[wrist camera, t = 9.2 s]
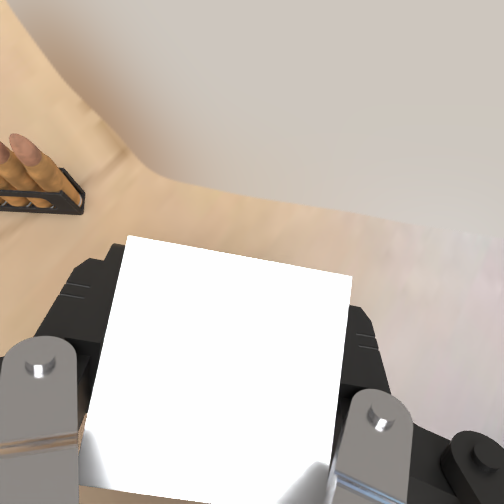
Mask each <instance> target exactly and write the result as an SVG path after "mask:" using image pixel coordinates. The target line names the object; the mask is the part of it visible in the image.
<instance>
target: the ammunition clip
mask: <svg viewBox="0 0 504 504" xmlns="http://www.w3.org/2000/svg"><path fill="white" fill-rule="evenodd" d="M9 140H10V145H11V147H12V150H13V152H12V151H11V150H10V149H9V148H7V147H6V146H5V145H4V144H3V143H1V142H0V211H10V212H30V213H51V214H71V215H82V214H83V210H84V199H85V192H84V191H83V189H82V188H81V187H80V186H79V185H78V184H77V183H76V182H75V181H74V179H73V178H72V177H71V176H70V175H69V173H68V172H67V171H66V170H65V169H64V168H58V167H57V166H56V164H55V163H54V162H53V161H52V160H51V159H50V158H49V157H48V156H47V155H45V154H43V153H42V152H41V151H40V150H39V149H38V148H37V147H36V146H35V145H34V144H33V143H32V142H31V141H30V140H28V139H27V138H25V137H23V136H21V135H19V134H11V135H10V137H9Z"/></svg>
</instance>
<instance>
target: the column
mask: <svg viewBox="0 0 504 504" xmlns="http://www.w3.org/2000/svg"><path fill="white" fill-rule="evenodd" d="M351 283H352V277H351V276H346V275H341V274H335V273H330V272H324V271H319V270H313V269H308V268H303V267H297V266H292V265H286V264H281V263H275V262H270V261H265V260H259V259H254V258H248V257H243V256H238V255H232V254H227V253H221V252H216V251H210V250H205V249H200V248H194V247H189V246H183V245H178V244H173V243H167V242H162V241H156V240H151V239H145V238H140V237H135V236H129V235H128V238H127V242H126V247H125V251H124V256H123V260H122V265H121V269H120V273H119V278H118V282H117V287H116V291H115V296H114V300H113V305H112V309H111V314H110V318H109V322H108V327H107V331H106V336H105V340H104V345H103V349H102V354H101V358H100V362H99V367H98V371H97V376H96V380H95V385H94V389H93V394H92V398H91V402H90V407H89V411H88V416H87V420H86V425H85V429H84V434H83V438H82V442H81V447H80V451H79V456H78V475H79V485H82V486H89V487H97V488H104V489H111V490H118V491H126V492H133V493H140V494H148V495H155V496H162V497H169V498H177V499H184V500H191V501H199V502H206V503H213V504H322V502H323V500H324V497H325V494H326V490H327V482H328V474H329V465H330V457H331V449H332V441H333V432H334V424H335V416H336V407H337V399H338V391H339V382H340V374H341V366H342V357H343V349H344V341H345V332H346V324H347V316H348V308H349V299H350V291H351Z"/></svg>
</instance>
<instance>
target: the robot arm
mask: <svg viewBox="0 0 504 504" xmlns="http://www.w3.org/2000/svg"><path fill="white" fill-rule="evenodd" d="M125 247H126V245H120V244H115V243H114V244H113V245H112V246H111V248H110V250H109V252H108V254H107V256H106V258H105V260H104V261H102V260H97V259H91V258H89V259H88V260H86V261H85V262H83V263H82V264H80V265H79V266H77V267H76V268H74V270H73V272H72V273H71V275H70V277H69V278H68V280H67V282H66V284H65V285H64V287H63V288H62V290H61V292H60V295H58V297H57V298H56V300H55V302H54V303H53V305H52V307H51V308H50V310H49V312H48V314H47V315H46V317H45V319H44V320H43V322H42V324H41V325H40V327H39V329H38V330H37V332H36V334H35V335H34V337H33V338H29V339H26V340H23V341H21V342H19V343H18V344H16V345H15V346H13V347H12V348H11V349H10V350H9V351H8V352H7V353H6V355H5V356H4V357H0V504H79V475H78V430H79V428H80V425H81V423H82V420H83V418H84V415H85V413H88V411H89V407H90V402H91V398H92V394H93V389H94V385H95V380H96V376H97V371H98V367H99V362H100V358H101V354H102V349H103V345H104V340H105V336H106V331H107V327H108V322H109V318H110V314H111V309H112V305H113V300H114V296H115V291H116V287H117V282H118V278H119V273H120V269H121V265H122V260H123V256H124V251H125ZM322 504H504V449H503V448H502V447H501V446H500V445H499V444H498V443H497V442H495V441H494V440H492V439H491V438H489V437H487V436H485V435H483V434H481V433H478V432H474V431H462V432H459V433H457V434H456V435H455V436H454V437H453V438H452V440H451V441H450V440H448V439H446V438H443V437H441V436H439V435H437V434H434V433H432V432H430V431H428V430H425V429H423V428H421V427H419V426H418V425H416V424H414V423H413V421H412V418H411V415H410V413H409V412H408V410H407V409H406V407H405V406H404V405H403V404H402V403H401V402H400V401H399V400H398V399H396V398H395V397H394V396H392V395H391V392H390V388H389V385H388V381H387V377H386V374H385V370H384V366H383V363H382V359H381V355H380V352H379V351H378V344H377V341H376V339H375V333H374V330H373V326H372V322H371V320H370V319H369V318H368V316H367V315H366V314H365V312H364V311H363V310H362V309H361V307H357V306H351V305H350V304H349V308H348V316H347V324H346V332H345V341H344V349H343V357H342V366H341V374H340V382H339V391H338V399H337V407H336V416H335V424H334V432H333V441H332V449H331V457H330V465H329V474H328V482H327V490H326V494H325V497H324V500H323V502H322Z"/></svg>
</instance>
